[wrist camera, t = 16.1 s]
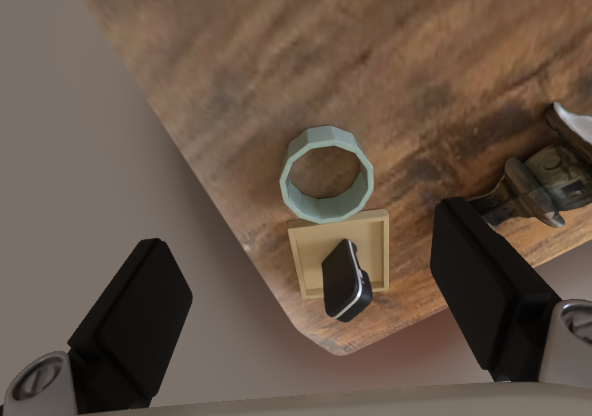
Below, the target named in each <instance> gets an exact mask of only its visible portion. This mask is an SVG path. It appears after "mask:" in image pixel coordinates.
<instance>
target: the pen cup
mask: <svg viewBox="0 0 592 416" xmlns="http://www.w3.org/2000/svg"><path fill="white" fill-rule="evenodd" d="M333 145H334V146H337V147H340V148H342V149H345V150H348V151H350V152H353V153H355V154H356V155H357V157H358V158H359V159H360V172H359V174H358V176H357V178H356V180H355V181H354V183H353V185H352V187H350V188H349V189H347V190H346V191H344V192H343V193H341V194H340V195H338V196H337V197H331V198H324V199H316V198H313V197H310V196H307V195H304V194H301V193H300V192H299V190H298V189H297V188H296V187H295V186H294V185H293V184H292V183H291V182H290V180H289V175H288V173H289V170H290V168H291V166H292V163H293V162H294V161H295V160H297V159H298V158H299V157H301V156H302V155H303V154H305V153H306V152H307V151H308V150H310V149H313V148H320V147H326V146H333ZM279 182H280V187H281V192H282V196H283V201H284V203H285V204H286V205H287V206H288V207H289V208H290V209H291V210H292V211H293V212H294V213H295V214H296V215H297V216H298V217H299V218H302V219H305V220H308V221H312V222H315V223H318V224H325V223H333V222H341V221H344V220H345V219H347V218H349V217H350V216H352V215H353V214H355V213H357V212H358V211H360V210H361V209H362V208H363V207H364V205H365V203H366V202H367V200H368V198H369V197H370V195H371V193H372V191H373V190H374V186H373V166H372V165H371V163H370V161H369V159H368V157H367V155H366V153H365V151H364V150H363V148H362V147H361V145H360V144H359V143H358V141H357V140H356V139H355V137H354V136H353V134H352V133H349V132H346V131H344V130H341V129H339V128H336V127H334V126H331V125H329V126H322V127H316V128H310V129H306V130H305V131H304V132H303V133H301V134H300V135H299V136H297V137H296V138H295V139H294V140H292V141H291V142H290V143H289V144H288V147H287V149H286V152H285V155H284V157H283V160H282V162H281V170H280V179H279Z"/></svg>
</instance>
